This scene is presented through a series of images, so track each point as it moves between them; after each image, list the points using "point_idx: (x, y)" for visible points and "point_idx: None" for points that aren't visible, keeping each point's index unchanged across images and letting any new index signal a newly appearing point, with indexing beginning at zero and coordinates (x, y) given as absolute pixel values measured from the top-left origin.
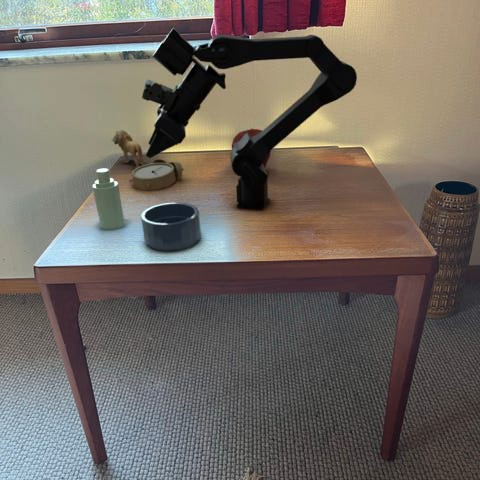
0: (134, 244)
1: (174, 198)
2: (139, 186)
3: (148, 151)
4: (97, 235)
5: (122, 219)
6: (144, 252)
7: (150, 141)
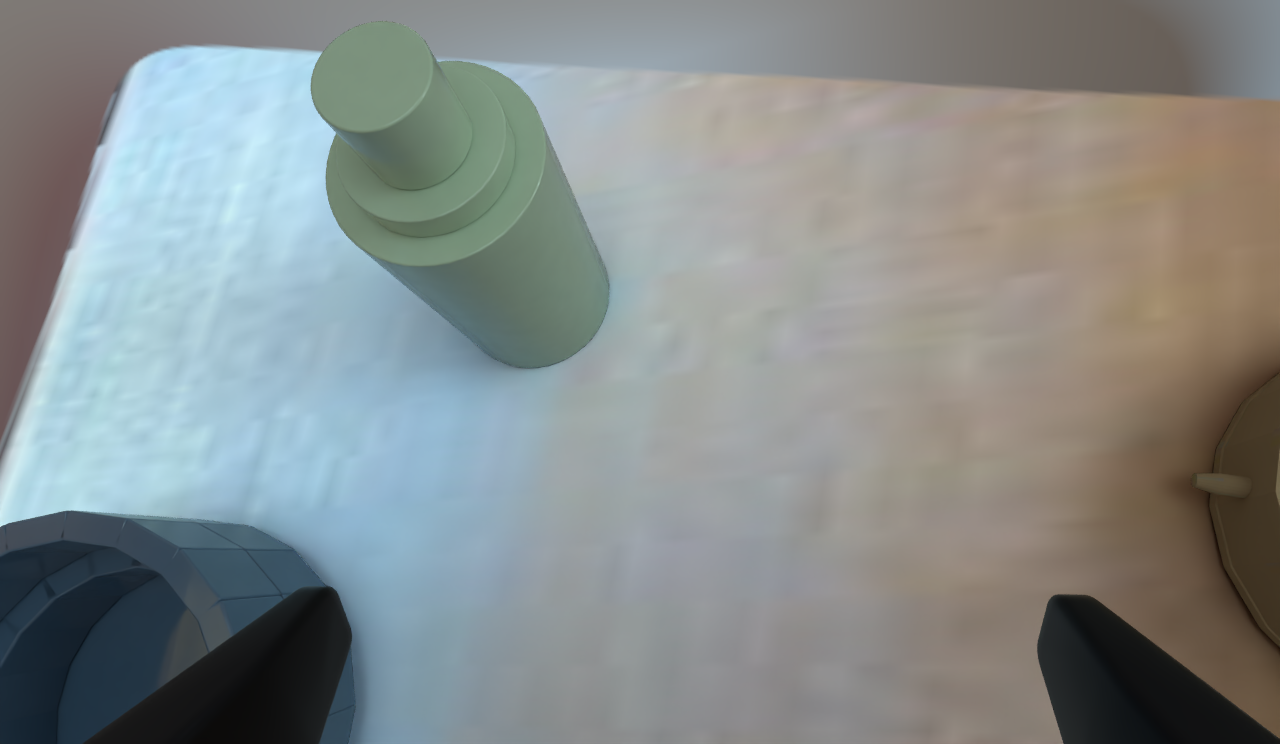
0: (221, 459)
1: (984, 721)
2: (1257, 400)
3: (236, 645)
4: None
5: (492, 352)
6: None
7: (1078, 643)
